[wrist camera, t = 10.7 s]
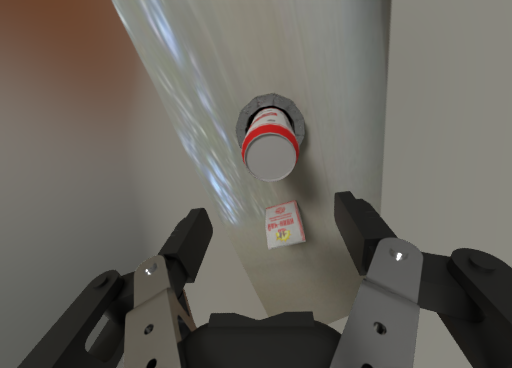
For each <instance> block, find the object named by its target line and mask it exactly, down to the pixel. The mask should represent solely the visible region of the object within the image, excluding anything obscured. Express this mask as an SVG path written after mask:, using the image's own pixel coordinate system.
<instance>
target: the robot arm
mask: <svg viewBox="0 0 512 368" xmlns="http://www.w3.org/2000/svg"><path fill="white" fill-rule="evenodd" d="M334 217H335V222H336V225H337V227H338V229H339V231H340V233H341V236H342V238H343V240H344V242H345V244H346V246H347V249H348V251H349V253H350V255H351V257H352V260H353V262H354V264H355V266H356V268H357V270H358V273H359V275H367V276H366V278H365V279H363V281H362V283H361V285H360V288H359V291H358V293H357V296H356V299H355V301H354V304H353V307H352V309H351V312H350V315H349V317H348V320H347V323H346V325H345V328H344V330H343V333H342V335H341V334H340V333H339V332H337V331H336V330H335V329H333V328H331V327H329V326H328V325H326V324H324V323H321V322H319V321H315V320H314V318H313V312H284V313H281V314H278V315H275V316H272V317H269V318H266V319H262V320H255V319H252V318H249V317H246V316H242V315H239V314H236V313H212V314H211V315H210V319H209V323H206V324H204V325H202V326H200V327H199V328H197V327H196V325H195V323H194V320H193V317H192V313H191V310H190V306H189V303H188V300H187V296H186V293H185V290H184V289H183V288H184V285H185V283H194V281H195V278H196V276H197V273H198V270H199V268H200V265H201V263H202V260H203V258H204V255H205V252H206V250H207V247H208V245H209V242H210V240H211V237H212V234H213V228H212V224H211V222H210V219H209V217H208V214H207V212H206V210H205V209H204V208H197V209H192V210H191V211H190V212H189V214H188V215H187V217H186V218H184V219H183V220H181V221H180V222H179V223H178V225H177V226H176V227H175V229H174V231H173V232H172V233H171V236H170V237H169V238H168V240H167V241H166V243H165V244H164V246H163V247H162V249H161V250H160V252H159V253H158V255H156V256H152V257H150V258H148V259H146V260H145V261H144V262H142V263H141V264H140V265H139V266H138V267H137V269H136V271H134V272H131V273H128V274H126V275H123V276H121V275H120V274H119V273H118V272H117V271H116V270H110V271H107V272H104V273H103V274H101V275H99V276H98V277H96V278H95V279H94V280H92V281H91V282H90V284H88V286H87V287H86V288H85V289H84V290H83V291H82V293H81V294H80V295H79V296H78V297H77V298H76V300H75V301H74V302H73V303H72V304H71V305H70V307H69V308H68V309H67V310H66V311H65V313H64V314H63V315H62V316H61V317H60V318H59V320H58V321H57V322H56V323H55V324H54V325H53V326H52V328H51V329H50V330H49V331H48V332H47V334H46V335H45V336H44V337H43V338H42V339H41V341H40V342H39V343H38V344H37V345H36V346H35V348H34V349H33V350H32V351H31V352H30V353H29V354H28V356H27V357H26V358H25V359H24V360H23V361H22V363H21V364H20V365H19V366H18V367H17V368H116V367H117V365H118V363H119V361H120V359H121V357H122V355H123V353H124V368H413V362H414V353H415V345H416V337H417V328H418V320H419V310H420V308H423V309H427V310H430V311H434V312H437V314H438V315H439V317H440V318H441V320H442V321H443V323H444V324H445V326H446V327H447V329H448V331H449V332H450V334H451V335H452V337H453V338H454V340H455V341H456V343H457V344H458V345H459V347H460V349H461V350H462V352H463V353H464V355H465V356H466V358H467V359H468V361H469V362H470V364H471V365H472V367H473V368H512V268H511V267H510V266H508V265H507V264H506V263H505V262H503V261H502V260H500V259H498V258H496V257H494V256H493V255H490V254H488V253H485V252H482V251H479V250H474V249H469V248H460V249H456V250H455V251H453V252H452V254H451V256H450V257H447V256H442V255H435V254H430V253H424V252H421V251H420V250H419V249H418V248H417V247H416V246H414V245H413V244H411V243H410V242H408V241H405V240H402V239H399V238H397V236H396V235H395V234H394V233H393V231H392V230H391V229H390V228H389V226H388V225H387V224H386V223H385V222H384V220H383V219H382V218H381V217H380V215H379V214H378V213H377V212H376V211H375V209H374V208H373V207H372V206H371V204H369V203H368V202H366V201H364V200H363V199H355V197H354V196H353V194H352V193H351V192H350V191H346V192H337V193H335V200H334ZM103 314H104V315H105V316H106V317H107V318H108V319H109V320H108V322H107V323H106V325H105V326H104V328H103V330H102V331H101V333H100V334H99V336H98V337H97V339H96V340H95V342H94V344H93V345H92V347H91V348H90V350H89V351H88V352H87V351H86V350H85V343H86V340H87V338H88V336H89V334H90V333H91V331H92V330H93V329H94V327H95V326H96V324H97V323H98V321H99V320H100V318H101V317H102V315H103Z"/></svg>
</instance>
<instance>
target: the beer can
mask: <svg viewBox="0 0 512 368" xmlns="http://www.w3.org/2000/svg"><path fill="white" fill-rule="evenodd" d="M241 153H242V158H243V162H244V164H245V165H246V168H247V169H248V171H249V173H250V174H251V175H253V176H254V177H255V178H257V179H259V180H261V181H266V182H274V181H279V180H281V179H283V178H285V177H286V176H287V175H289V174H290V173H291V171H292V170H293V168H294V166H295V164H296V163H297V160H298V156H299V143H298V141H297V138H296V136H295V134H294V132H293V129H292V127H291V125H290V123H289V121H288V118H287V116H286V115H285V114H284V113H283V112H282V111H281V110H279V109H277V108H272V107H270V108H265V109H263V110H261V111H260V112H259V113H258V114H257V115H256V116H255V118H254V120H253V122H252V124H251V126H250V128H249V130H248V132H247V134H246V136H245V139H244V141H243V143H242V152H241Z"/></svg>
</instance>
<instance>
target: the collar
mask: <svg viewBox="0 0 512 368" xmlns="http://www.w3.org/2000/svg"><path fill="white" fill-rule="evenodd" d="M272 105H274V106H272ZM261 107H262V108H261ZM270 107H272V108H277V109H279V110H281V111H282V112H283V113H284V114H285V115H286V116H287V118H288V121H289V123H290V125H291V127H292V124H291V120H290V117H289V116H288V114H289V115H290V116H291V118H292V122H293V132H294V134H295V136H296V138H297V141H298V143H299V147H300V145H301V143H302V141H303V138H304V135H305V130H304V117H303V115H302V114H301V112H300V111H299V110H298V108H297V107H296V105H295V104H294V102H293V101H292V100H290V99H288V98H285V97H283V96H280V95H278V94H275V93H274V96H273V93H271V94H266V95H261V96H257V97H255V98H254V99H253V100H252V101H251V102H250V103H249V104H248V105H246V106H245V107H244V108H243V109H242V110H241V112H240V115H239V118H238V122H237V125H236V134H237V139H238V143H239V146H240V148H241V149H242V143H243V141H244V139H245V136H246V134H247V132H248V130H247V124H248V121H249V118H250V116H251V115H252V114H253V113H254V112H255V111H256V110H257V109H258V108H260V109H258V110H257V111H256V112H255V113H254V114H253V115H252V117H251V119H250V122H249V128H250V126H251V124H252V122H253V120H254V118H255V116H256V115H257V114H258V113H259V112H260V111H261V110H263V109H265V108H270ZM281 108H282V109H281ZM283 109H284V110H286V111H287V112H288V114H287V113H286V112H285V111H284V110H283Z"/></svg>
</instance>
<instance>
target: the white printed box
mask: <svg viewBox="0 0 512 368" xmlns="http://www.w3.org/2000/svg"><path fill="white" fill-rule="evenodd" d="M266 233H267V241H268V248H269V249H274V248H278V247H283V246H288V245H292V244H297V243H302V242H306V240H305V232H304V228H303V223H302V219H301V214H300V211H299V208H298V205H297V202H296V200H295V201H291V202H287V203H284V204H280V205H276V206H273V207H269V208H266Z"/></svg>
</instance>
